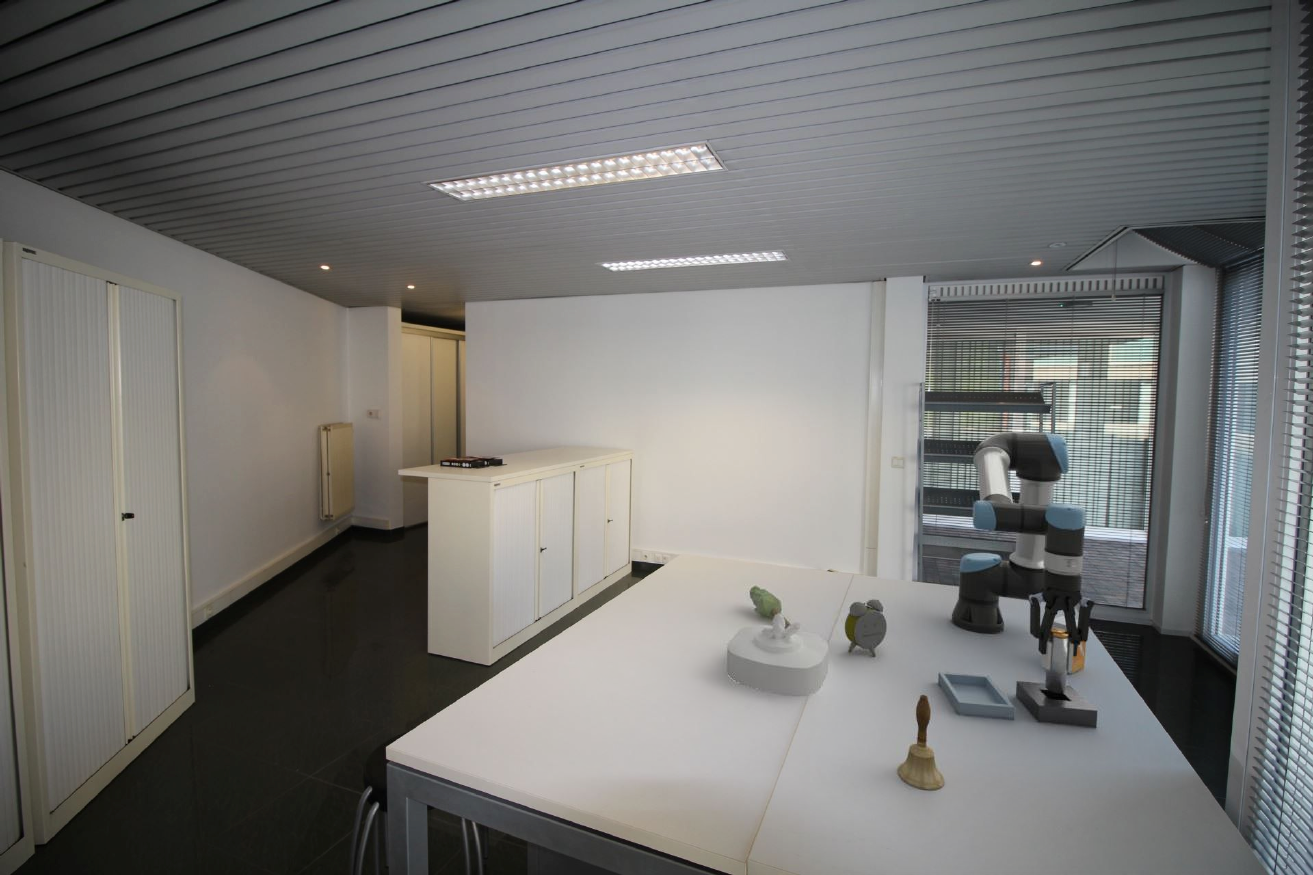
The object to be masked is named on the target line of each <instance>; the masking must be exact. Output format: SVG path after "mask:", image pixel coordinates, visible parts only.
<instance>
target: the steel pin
mask: <svg viewBox="0 0 1313 875" xmlns="http://www.w3.org/2000/svg"><path fill="white" fill-rule="evenodd" d="M1048 640H1049V641H1050V642H1051V643H1052V647H1051V664H1050V670H1047V669H1046V668H1045V682H1044V683H1045V688H1046V689H1048V690H1050V691H1052V692H1056V693H1064V692H1065V690H1066V685H1067V674H1068V673H1067V658H1068V642H1069V632H1067V631H1065V630H1063V629H1059V628H1052V629H1051V632H1050V636H1049V639H1048Z"/></svg>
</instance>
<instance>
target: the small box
mask: <svg viewBox="0 0 1313 875" xmlns="http://www.w3.org/2000/svg"><path fill="white" fill-rule="evenodd" d="M1075 620H1076V626H1078V618H1077V619H1076V618H1075ZM1052 628H1059V629H1063V630H1065V631H1067V628H1066V622H1065V616H1064V615H1060V616H1058V617H1055V619H1054V622H1053V625H1052ZM1086 645H1087V641H1086V642H1083V641H1082V642H1081V644H1080V645H1078V646H1077V655H1076V657H1075V656H1073V664H1072V671H1068V670H1067V674H1068V675H1073V674H1075V673H1076V672H1078V671H1080V670H1082V669H1084V668H1085V660H1086V659H1085V658H1086V647H1087V646H1086Z"/></svg>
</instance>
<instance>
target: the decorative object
mask: <svg viewBox="0 0 1313 875" xmlns="http://www.w3.org/2000/svg"><path fill="white" fill-rule="evenodd" d="M749 597H750V599H751V601H752V603H753V605H754V606H755V608H754V609H753V610H754V611H755V612H756V613H757V614H760V615H761V616H763V617H765V616H766V618H769V619H774V616H775V615H776V614H778V613H780V614H781V615H782V616H783V617H784V619H785V628H784V629H786V628H787V627H788V626H789V625H791V622H790V621H788V619H787V618H786V617H785V616H784V615H783V614H782V613H781V612H782V611H783V610H782V601H781V600H780V599H778V598H777V596H775V595H774V594H773V593H772V592H769V591H768V590H767V589H765V588H761V587H759V586H757V585H754V586H753V587H751V588H750V589H749Z"/></svg>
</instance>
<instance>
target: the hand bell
mask: <svg viewBox="0 0 1313 875" xmlns="http://www.w3.org/2000/svg"><path fill="white" fill-rule="evenodd" d="M928 698H929V697H928V696H927V695H926V694H921V695H920V696H919V698H918V701H917V704H916V708H915V716H916V717H915V719H916V722H917V738H916V743H913V744H910V746H909V748H908V752H907V757H906V759H905V761H904V762H902V763H901V764H900V765H899V766H898V768H897V774H898V776H899V775H900V776H899V777H900V779H902V780H903V782H905V781H906V782H905V783H907V784H908V785H910V786H912V787H915V788H917V789H922V790H925V791H926V790H928V791H932V790H933V791H934V790H939V789H940V788H941V789H942V787H943V786H944V785H945V779H944V776H943V775H942V773H941V772H940V771H939V769H938V768H937V765H936V760H935V753H934V750H933V749H932V748H931V747H929V746H928V745H927V741H928V739H927V736H928V735H927V734H928V733H927V730H928V726H929V724H930V720H931V712H932V711H931V706H930V702H929V699H928Z"/></svg>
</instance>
